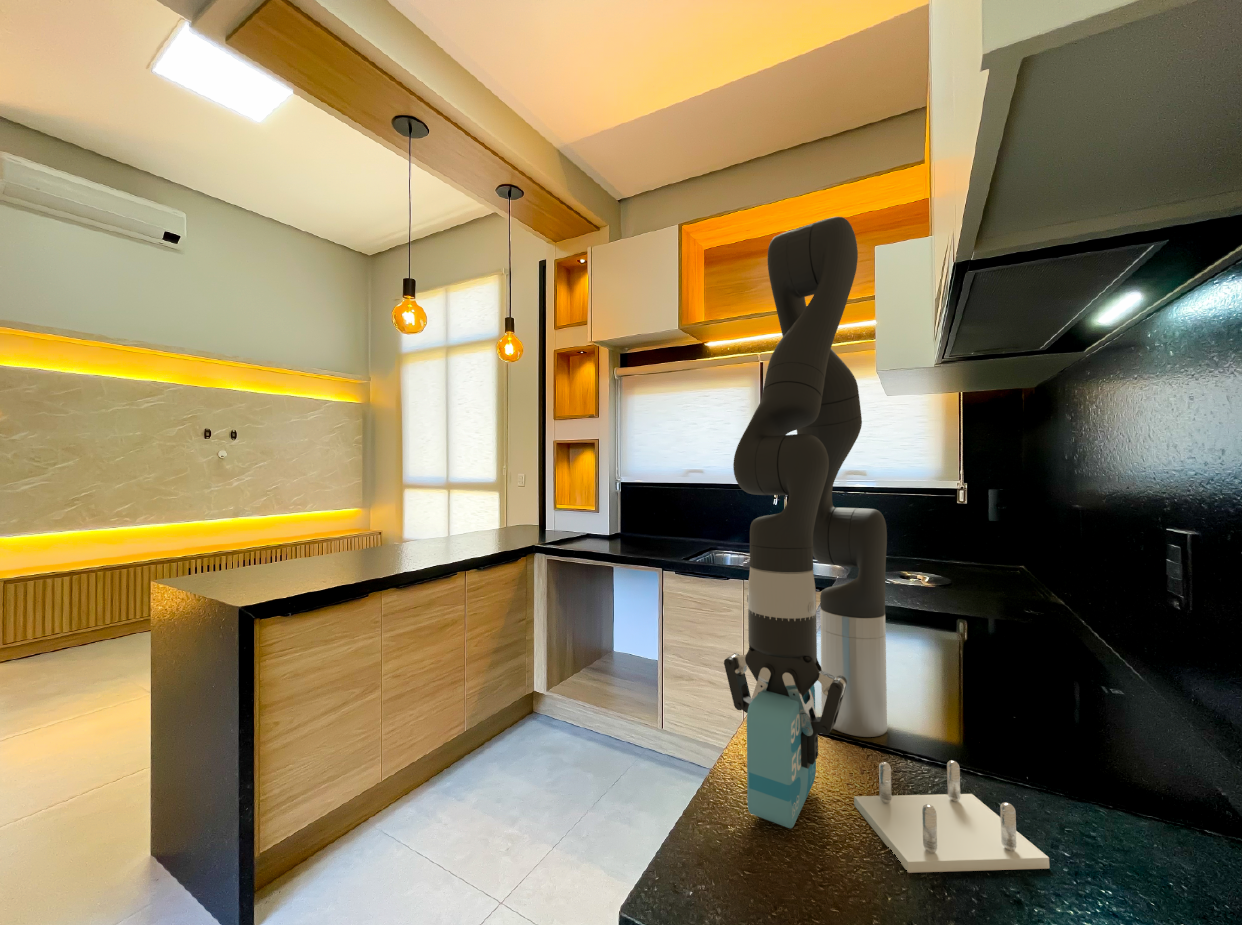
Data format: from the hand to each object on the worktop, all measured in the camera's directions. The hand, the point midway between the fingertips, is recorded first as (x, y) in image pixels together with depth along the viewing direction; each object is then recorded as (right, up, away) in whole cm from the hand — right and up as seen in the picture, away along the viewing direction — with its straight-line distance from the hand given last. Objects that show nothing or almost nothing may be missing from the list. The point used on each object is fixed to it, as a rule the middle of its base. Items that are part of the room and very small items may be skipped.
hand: (783, 756), depth 57 cm
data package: (0, -5, 0) cm, 5 cm away
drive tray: (+15, -6, -5) cm, 17 cm away
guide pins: (+15, -6, -5) cm, 17 cm away
